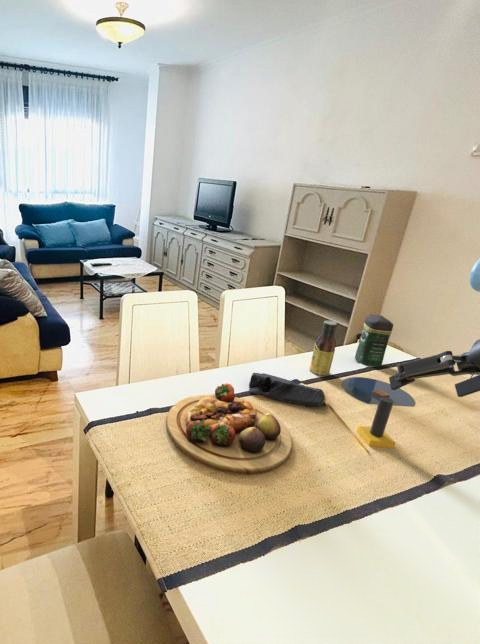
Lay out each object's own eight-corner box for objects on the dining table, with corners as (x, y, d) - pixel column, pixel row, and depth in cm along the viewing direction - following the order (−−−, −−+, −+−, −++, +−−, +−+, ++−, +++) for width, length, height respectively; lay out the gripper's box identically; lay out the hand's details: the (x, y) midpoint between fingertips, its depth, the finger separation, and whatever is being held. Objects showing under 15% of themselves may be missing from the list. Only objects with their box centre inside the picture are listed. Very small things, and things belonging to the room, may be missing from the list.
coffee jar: (383, 370, 139) (398, 322, 133) (359, 367, 141) (373, 320, 134) (374, 359, 148) (387, 314, 141) (351, 356, 150) (363, 311, 143)
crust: (379, 392, 122) (380, 389, 121) (388, 397, 119) (389, 394, 119) (371, 393, 121) (372, 390, 121) (380, 398, 118) (381, 396, 118)
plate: (389, 382, 131) (390, 378, 131) (430, 415, 112) (431, 412, 112) (329, 378, 132) (330, 375, 132) (359, 411, 113) (360, 407, 113)
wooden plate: (185, 390, 121) (188, 366, 118) (294, 419, 108) (300, 393, 106) (147, 449, 94) (149, 420, 91) (286, 496, 81) (294, 465, 78)
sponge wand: (377, 438, 101) (392, 394, 97) (391, 453, 96) (407, 407, 91) (354, 437, 101) (367, 392, 97) (366, 452, 96) (381, 405, 91)
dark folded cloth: (322, 415, 110) (325, 401, 109) (244, 393, 120) (246, 380, 119) (325, 392, 123) (328, 379, 121) (254, 374, 133) (256, 361, 131)
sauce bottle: (312, 369, 138) (324, 317, 131) (330, 375, 134) (344, 322, 127) (305, 374, 134) (317, 321, 127) (324, 381, 130) (337, 326, 123)
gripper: (439, 363, 63) (367, 397, 82) (603, 380, 61) (491, 411, 80) (428, 323, 66) (361, 364, 85) (584, 337, 65) (480, 376, 84)
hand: (424, 387), depth 83 cm, fingers open, 13 cm apart
